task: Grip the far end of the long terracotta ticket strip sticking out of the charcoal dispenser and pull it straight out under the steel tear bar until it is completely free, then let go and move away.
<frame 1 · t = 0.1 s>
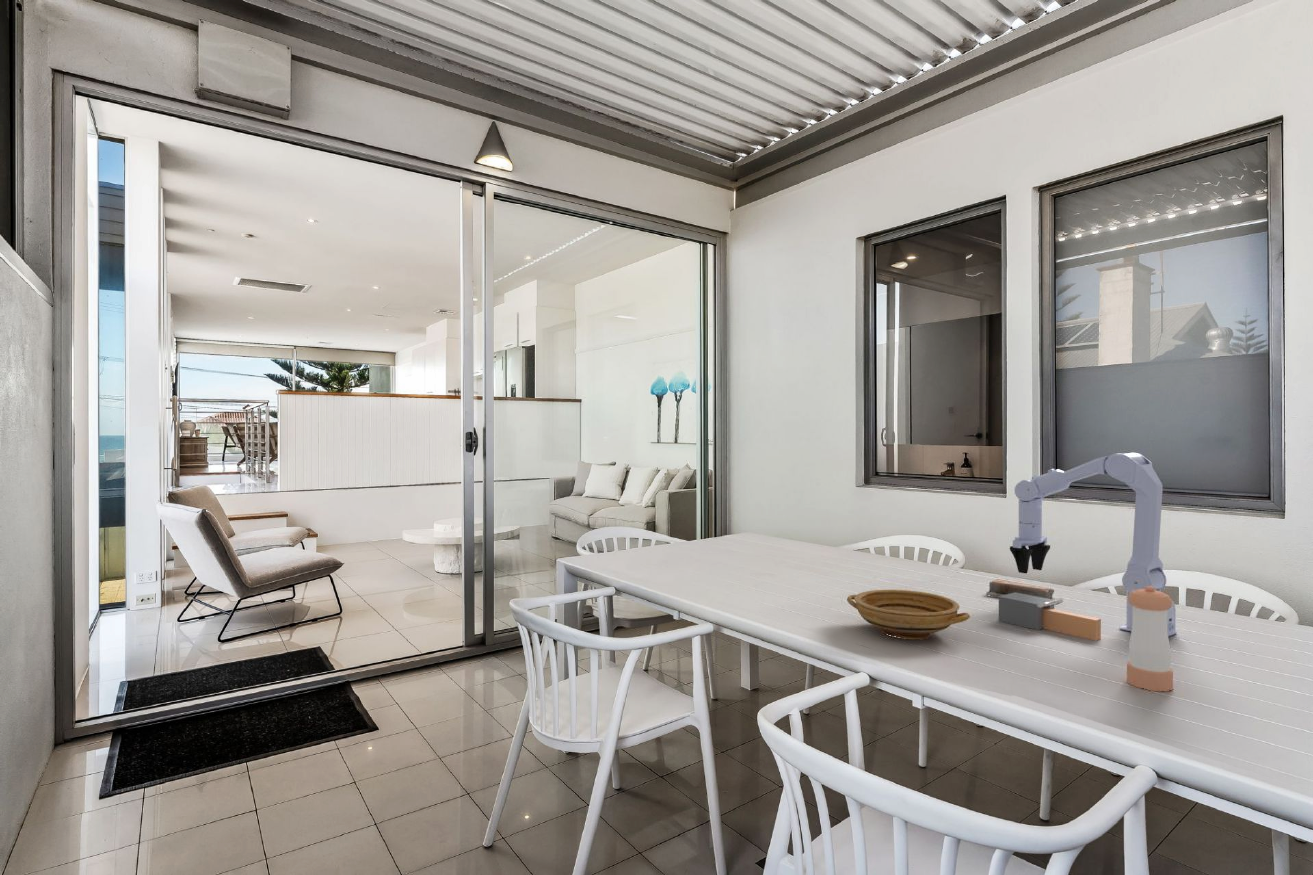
hand: (1030, 571, 191), 10 cm above the table, tool pointing down, fingers open, 7 cm apart
dispenser: (1026, 622, 175), on the table
salt shaker: (1149, 685, 132), on the table
packaged product: (1023, 600, 200), on the table
ceramic bowl: (905, 633, 167), on the table
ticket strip: (1062, 632, 167), on the table
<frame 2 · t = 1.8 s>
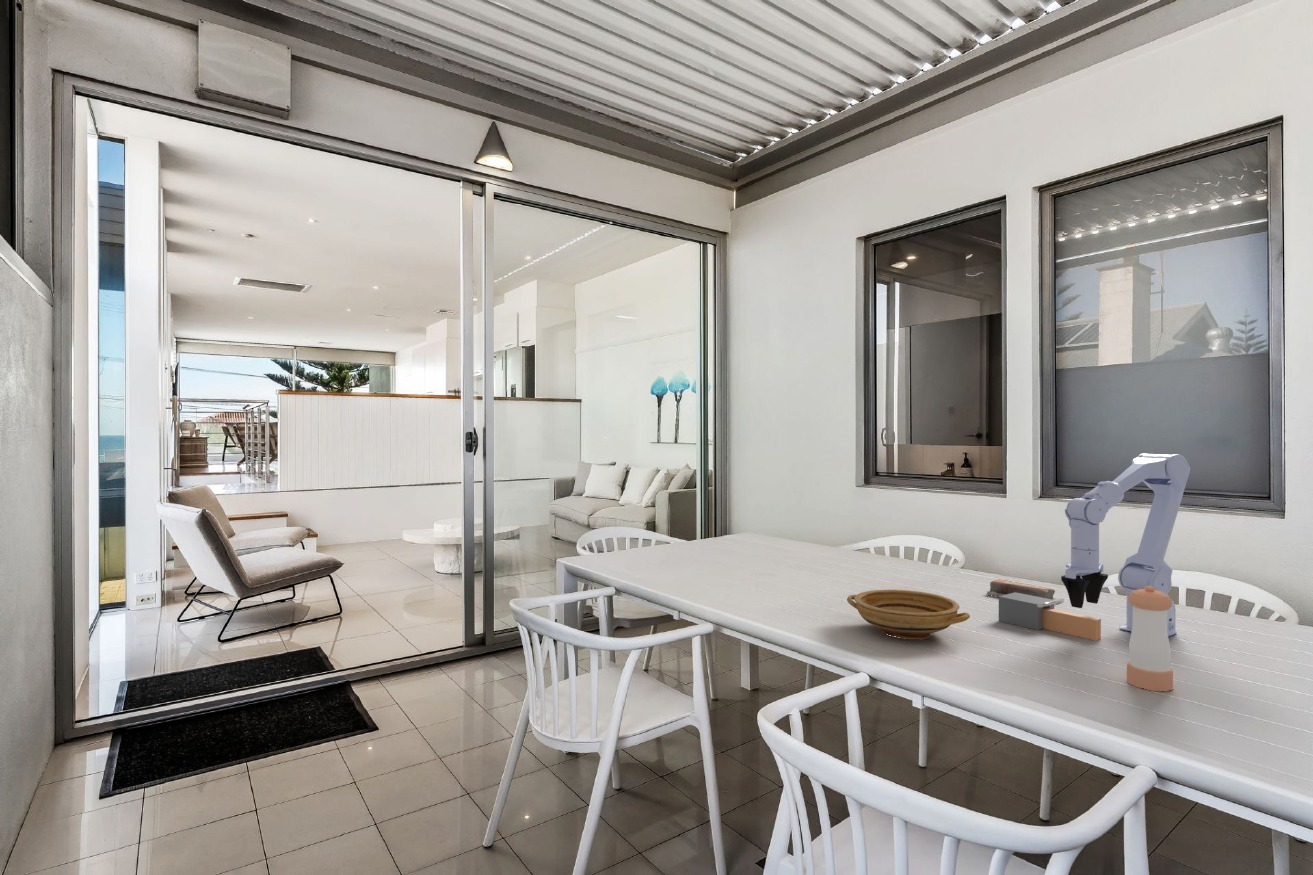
hand: (1084, 605, 163), 8 cm above the table, tool pointing down, fingers open, 7 cm apart
nothing on the table moved.
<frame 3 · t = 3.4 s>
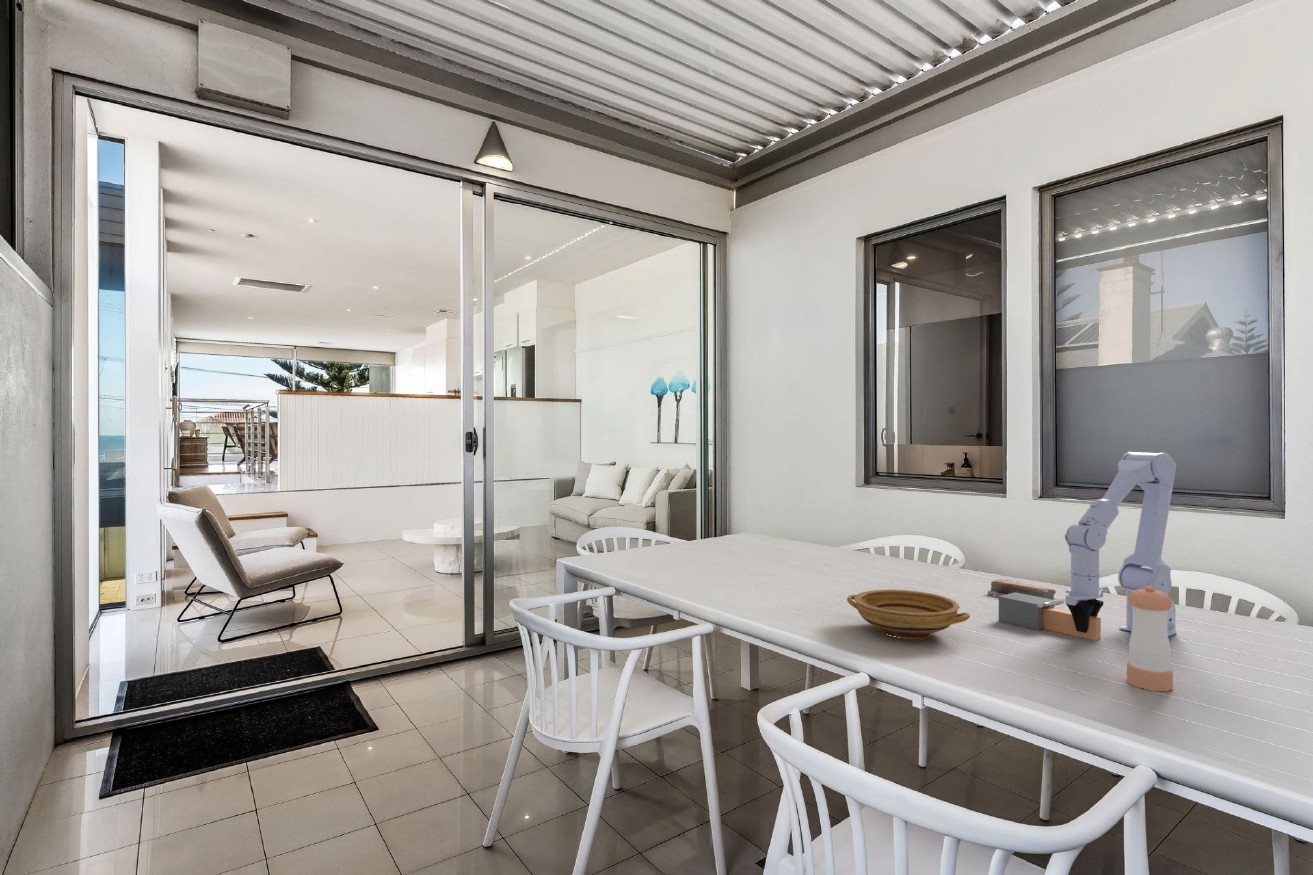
hand: (1084, 630, 163), 1 cm above the table, tool pointing down, fingers closed on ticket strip, 2 cm apart
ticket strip: (1062, 631, 167), on the table, touching gripper
everything else where it was.
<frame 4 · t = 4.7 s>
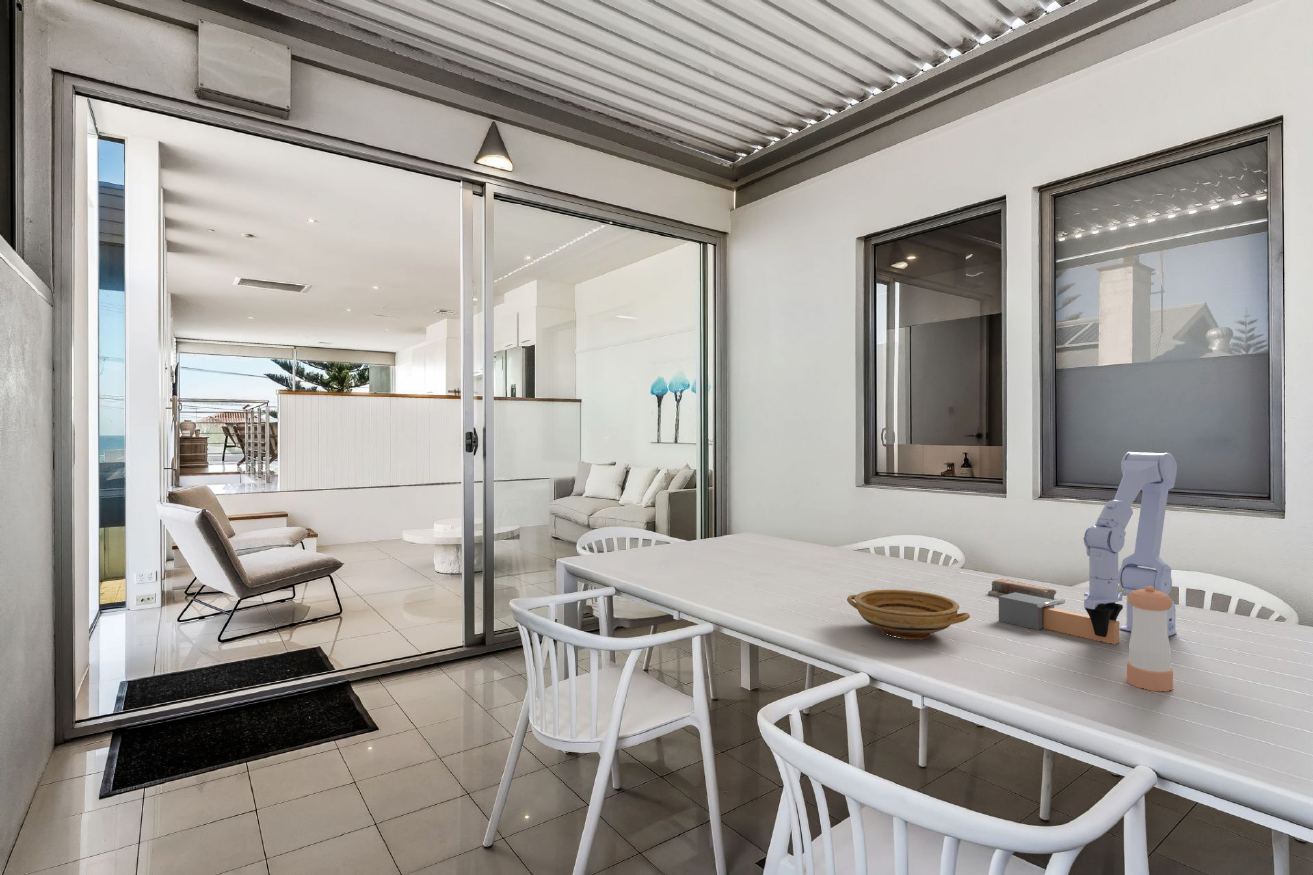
hand: (1103, 634, 160), 1 cm above the table, tool pointing down, fingers closed on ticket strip, 2 cm apart
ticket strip: (1079, 635, 164), on the table, touching gripper
everything else where it was.
when the fingers open (1 cm above the table, at t = 6.1 s): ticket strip stays where it is, on the table.
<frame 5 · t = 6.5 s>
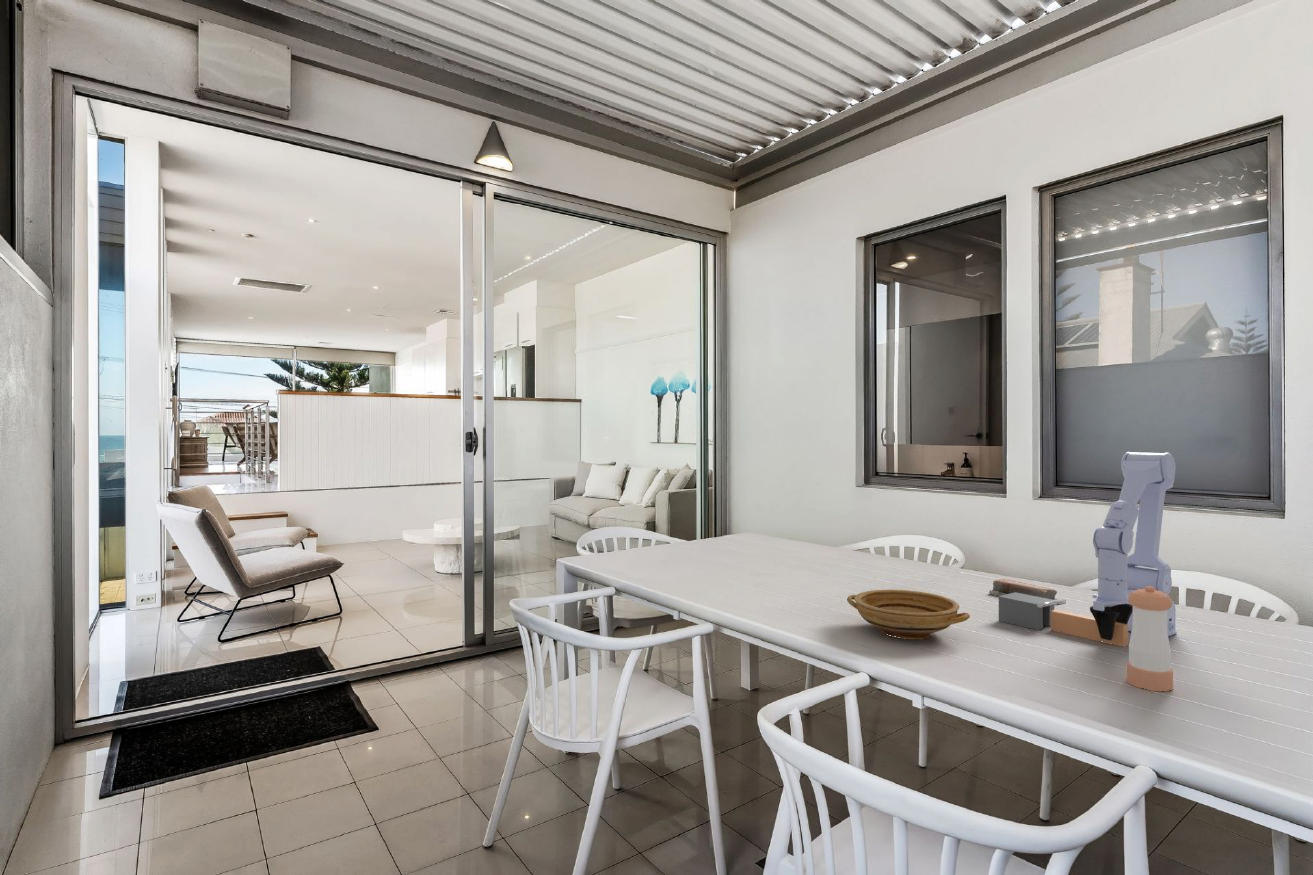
hand: (1112, 636, 158), 1 cm above the table, tool pointing down, fingers open, 6 cm apart
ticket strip: (1088, 638, 163), on the table
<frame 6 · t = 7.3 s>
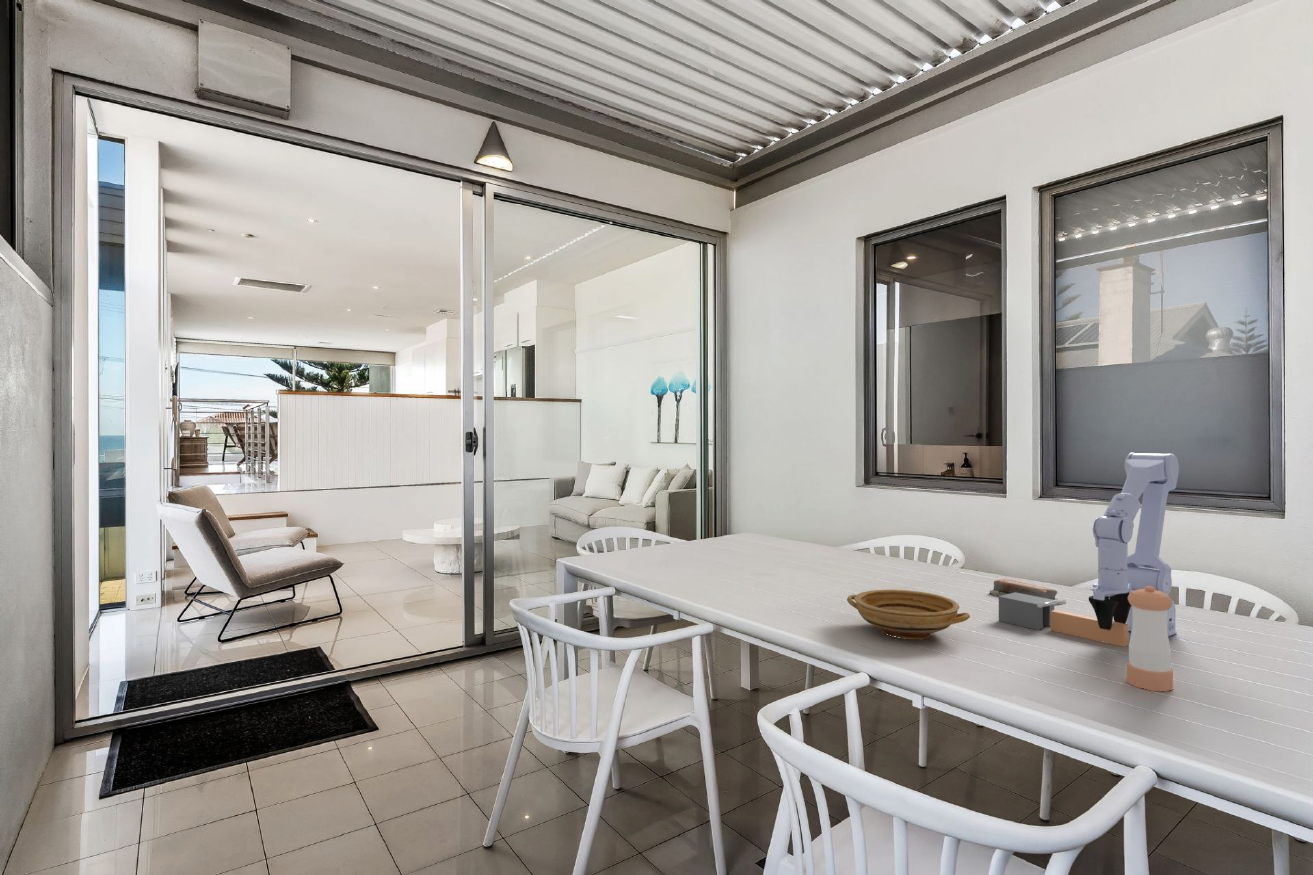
hand: (1112, 626, 158), 4 cm above the table, tool pointing down, fingers open, 7 cm apart
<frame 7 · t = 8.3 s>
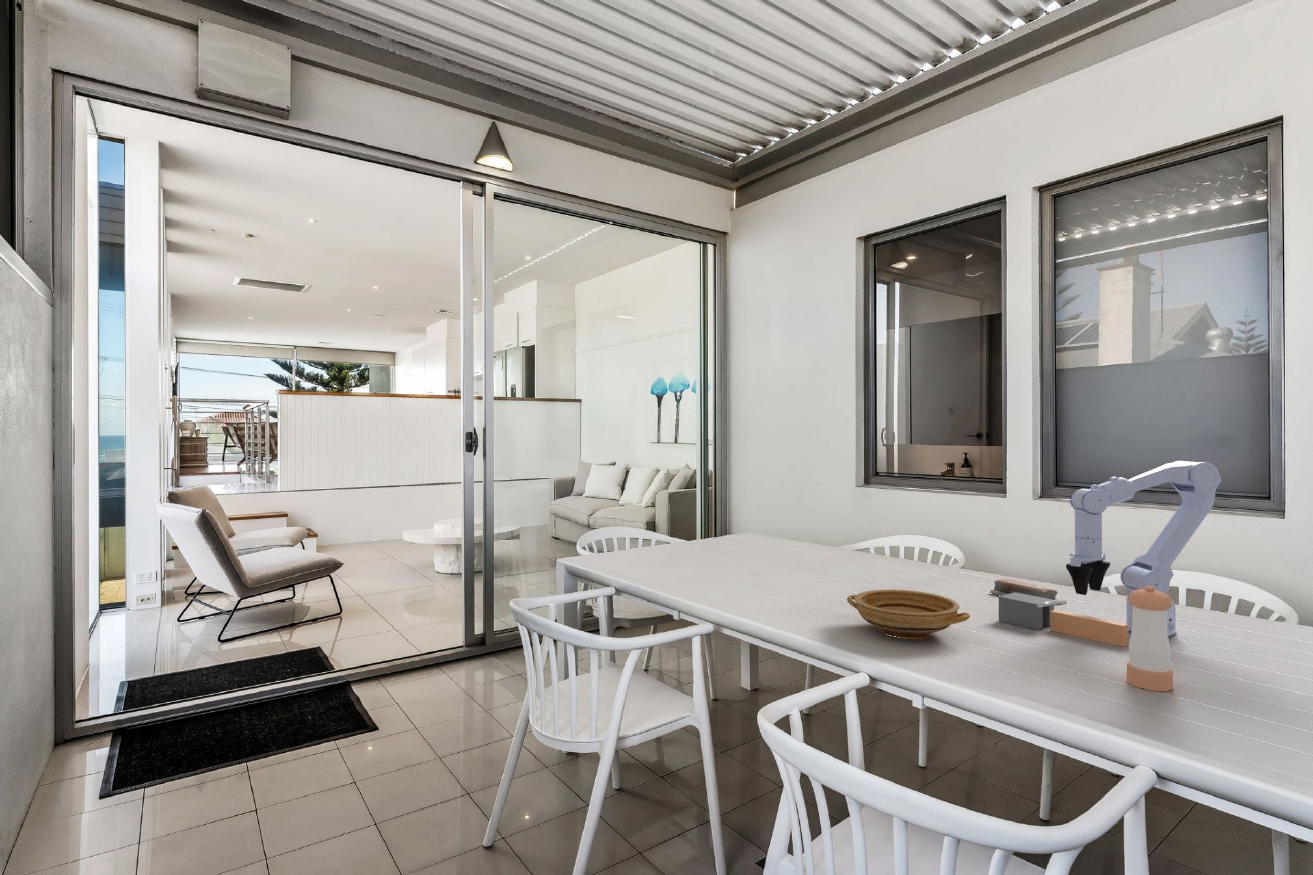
hand: (1088, 592, 169), 9 cm above the table, tool pointing down, fingers open, 7 cm apart
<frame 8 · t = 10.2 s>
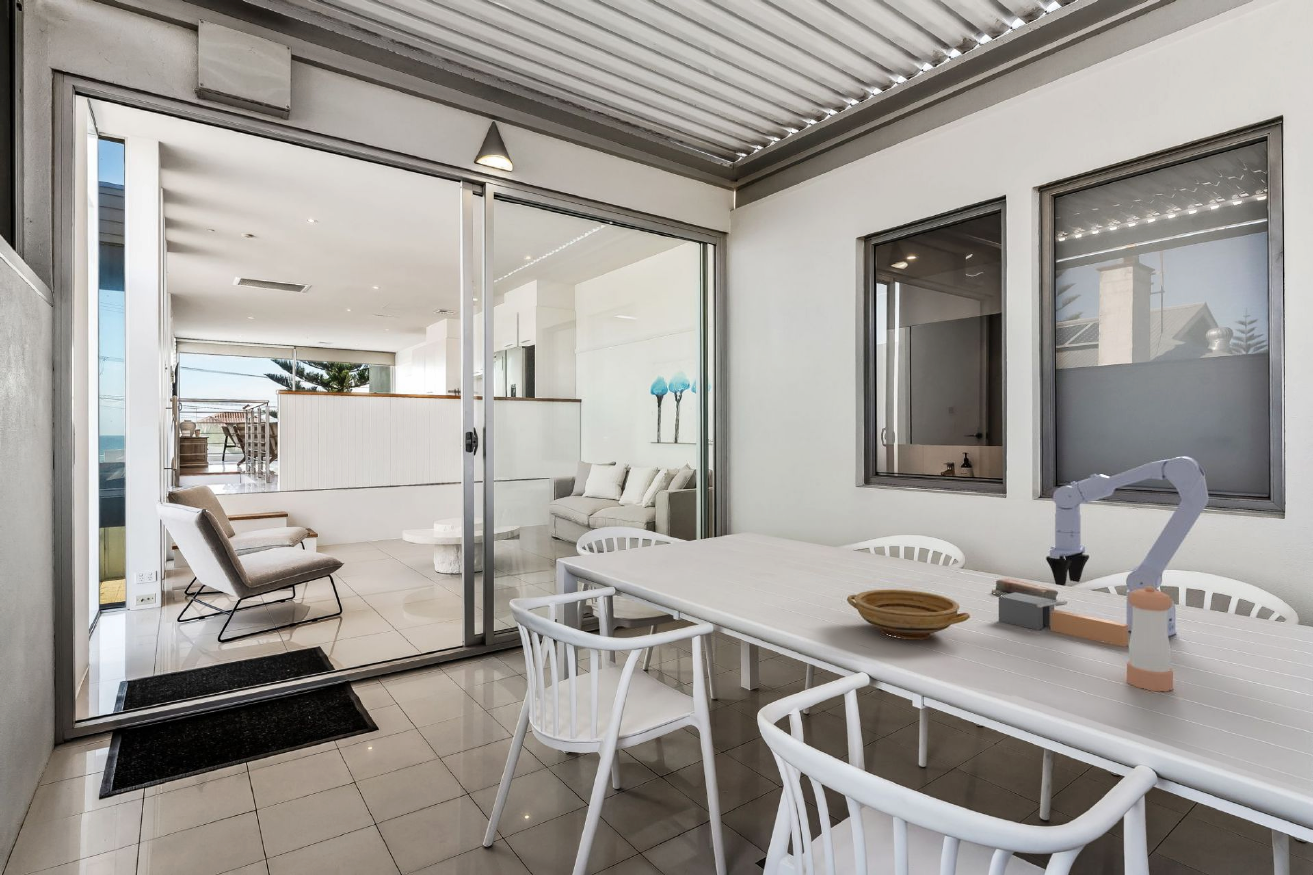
hand: (1067, 583, 179), 9 cm above the table, tool pointing down, fingers open, 7 cm apart
at the end: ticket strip 0.7 cm from the target spot, on the table; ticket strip moved 5.8 cm from its start; the gripper is holding nothing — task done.
